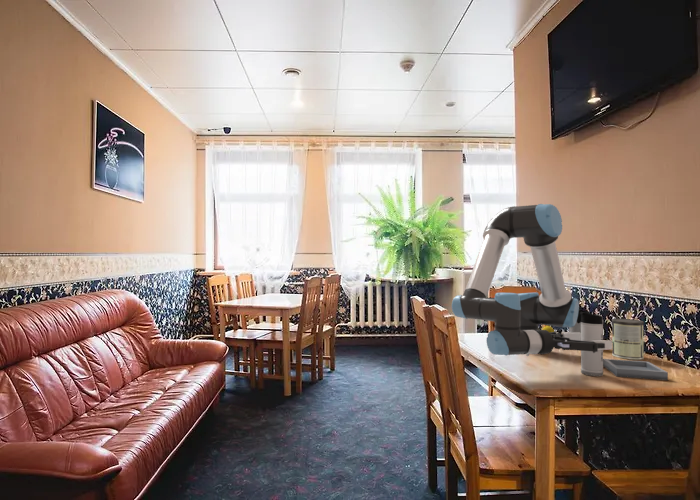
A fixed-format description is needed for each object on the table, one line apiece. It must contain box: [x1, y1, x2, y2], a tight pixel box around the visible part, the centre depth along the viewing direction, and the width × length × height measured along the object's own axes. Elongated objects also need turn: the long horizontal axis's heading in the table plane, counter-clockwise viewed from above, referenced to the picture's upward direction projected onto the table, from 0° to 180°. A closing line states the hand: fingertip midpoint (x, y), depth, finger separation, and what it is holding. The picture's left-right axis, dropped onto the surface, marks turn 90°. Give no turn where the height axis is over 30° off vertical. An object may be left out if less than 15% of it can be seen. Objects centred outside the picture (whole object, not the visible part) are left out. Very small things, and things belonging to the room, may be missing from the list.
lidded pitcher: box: [568, 309, 604, 333], centre depth 181 cm, size 9×14×15 cm, turn 84°
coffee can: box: [611, 318, 645, 361], centre depth 161 cm, size 10×10×14 cm
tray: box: [603, 358, 669, 381], centre depth 138 cm, size 14×14×2 cm
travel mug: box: [580, 312, 604, 377], centre depth 136 cm, size 6×7×20 cm
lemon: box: [541, 325, 555, 333], centre depth 186 cm, size 6×6×8 cm
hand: (595, 340), depth 136 cm, fingers open, 13 cm apart
